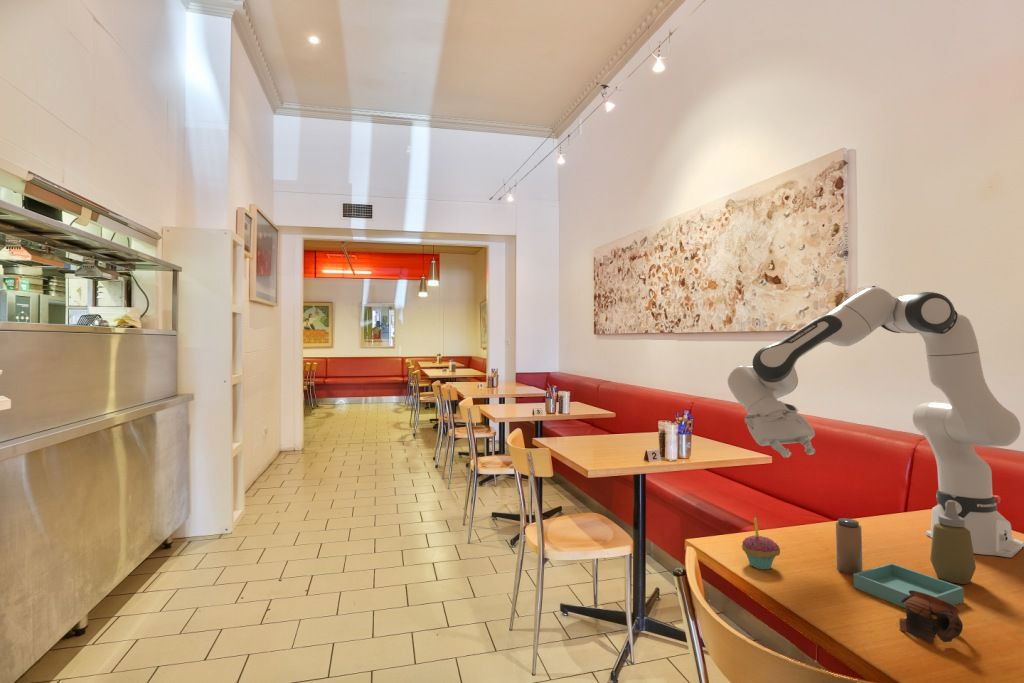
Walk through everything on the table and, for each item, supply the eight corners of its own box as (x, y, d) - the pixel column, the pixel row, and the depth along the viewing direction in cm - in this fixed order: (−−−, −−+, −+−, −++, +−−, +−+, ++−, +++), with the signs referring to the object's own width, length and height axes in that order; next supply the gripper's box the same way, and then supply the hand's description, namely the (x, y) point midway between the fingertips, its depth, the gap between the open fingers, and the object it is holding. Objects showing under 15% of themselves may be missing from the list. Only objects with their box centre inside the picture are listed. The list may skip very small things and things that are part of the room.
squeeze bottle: (985, 588, 113) (983, 507, 113) (944, 585, 114) (941, 505, 115) (961, 573, 121) (959, 497, 121) (922, 570, 122) (920, 495, 123)
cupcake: (734, 560, 129) (733, 513, 129) (763, 557, 131) (762, 511, 131) (757, 574, 121) (756, 524, 121) (788, 571, 122) (787, 521, 123)
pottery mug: (882, 624, 99) (892, 583, 101) (929, 648, 98) (938, 605, 100) (934, 642, 88) (943, 595, 90) (987, 668, 87) (996, 620, 89)
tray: (891, 575, 119) (891, 563, 120) (963, 602, 107) (963, 587, 107) (853, 587, 114) (853, 573, 114) (925, 616, 101) (924, 601, 101)
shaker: (845, 564, 126) (844, 516, 126) (867, 572, 121) (866, 522, 122) (832, 568, 124) (830, 519, 124) (853, 576, 119) (852, 525, 119)
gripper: (748, 408, 137) (780, 450, 128) (799, 405, 146) (833, 445, 137) (735, 422, 141) (765, 464, 132) (785, 419, 150) (817, 458, 140)
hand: (800, 454), depth 134 cm, fingers open, 8 cm apart
